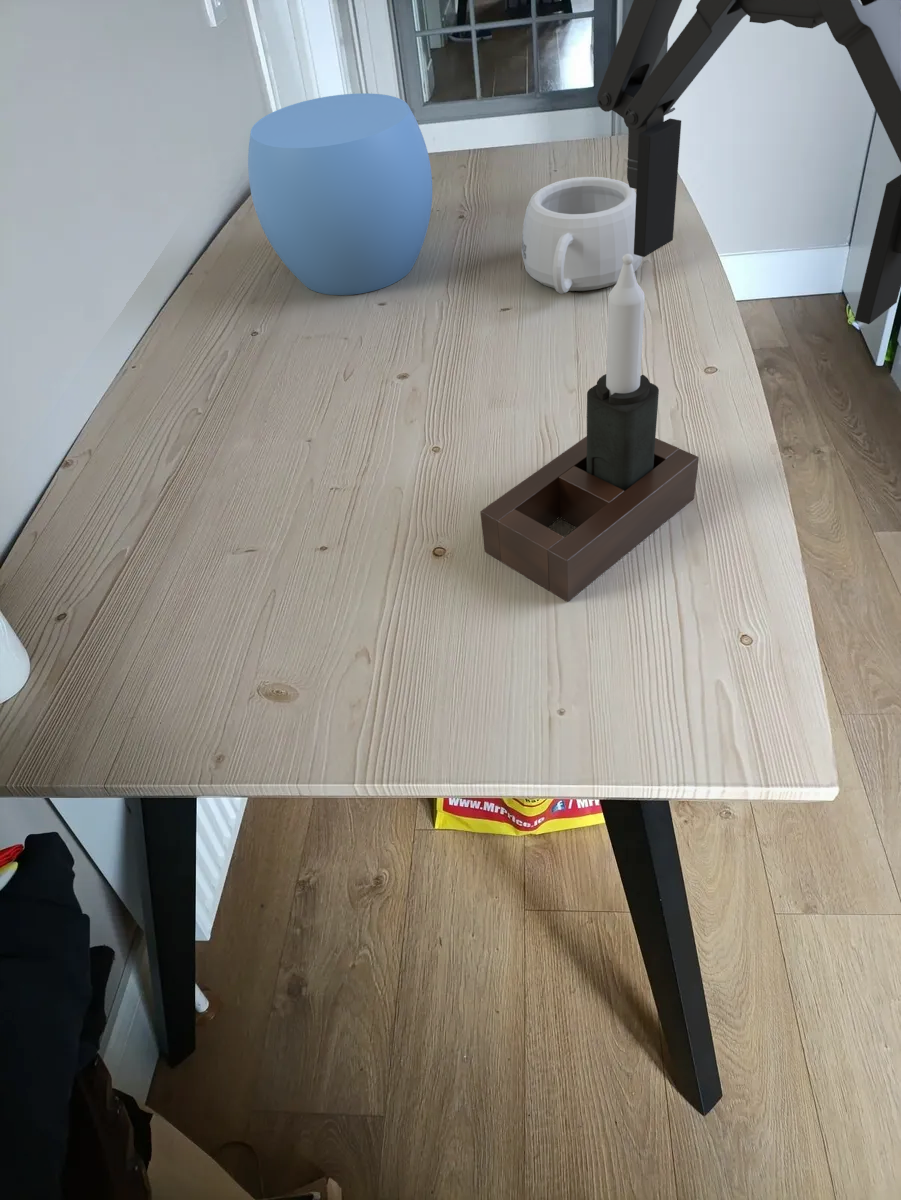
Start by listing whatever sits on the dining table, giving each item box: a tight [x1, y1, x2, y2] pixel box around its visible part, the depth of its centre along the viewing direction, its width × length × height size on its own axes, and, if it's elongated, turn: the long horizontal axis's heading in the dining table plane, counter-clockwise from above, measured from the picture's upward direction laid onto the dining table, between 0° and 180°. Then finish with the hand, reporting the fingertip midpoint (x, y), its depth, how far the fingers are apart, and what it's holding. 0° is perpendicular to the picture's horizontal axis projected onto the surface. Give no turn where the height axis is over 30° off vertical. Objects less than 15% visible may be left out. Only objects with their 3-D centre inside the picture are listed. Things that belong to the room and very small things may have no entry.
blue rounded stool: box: [247, 92, 433, 296], centre depth 123 cm, size 25×25×20 cm
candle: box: [586, 254, 660, 491], centre depth 77 cm, size 5×5×25 cm
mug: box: [521, 176, 644, 295], centre depth 117 cm, size 21×17×10 cm
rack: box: [480, 435, 700, 603], centre depth 82 cm, size 10×19×5 cm, turn 134°
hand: (755, 277), depth 48 cm, fingers open, 13 cm apart
